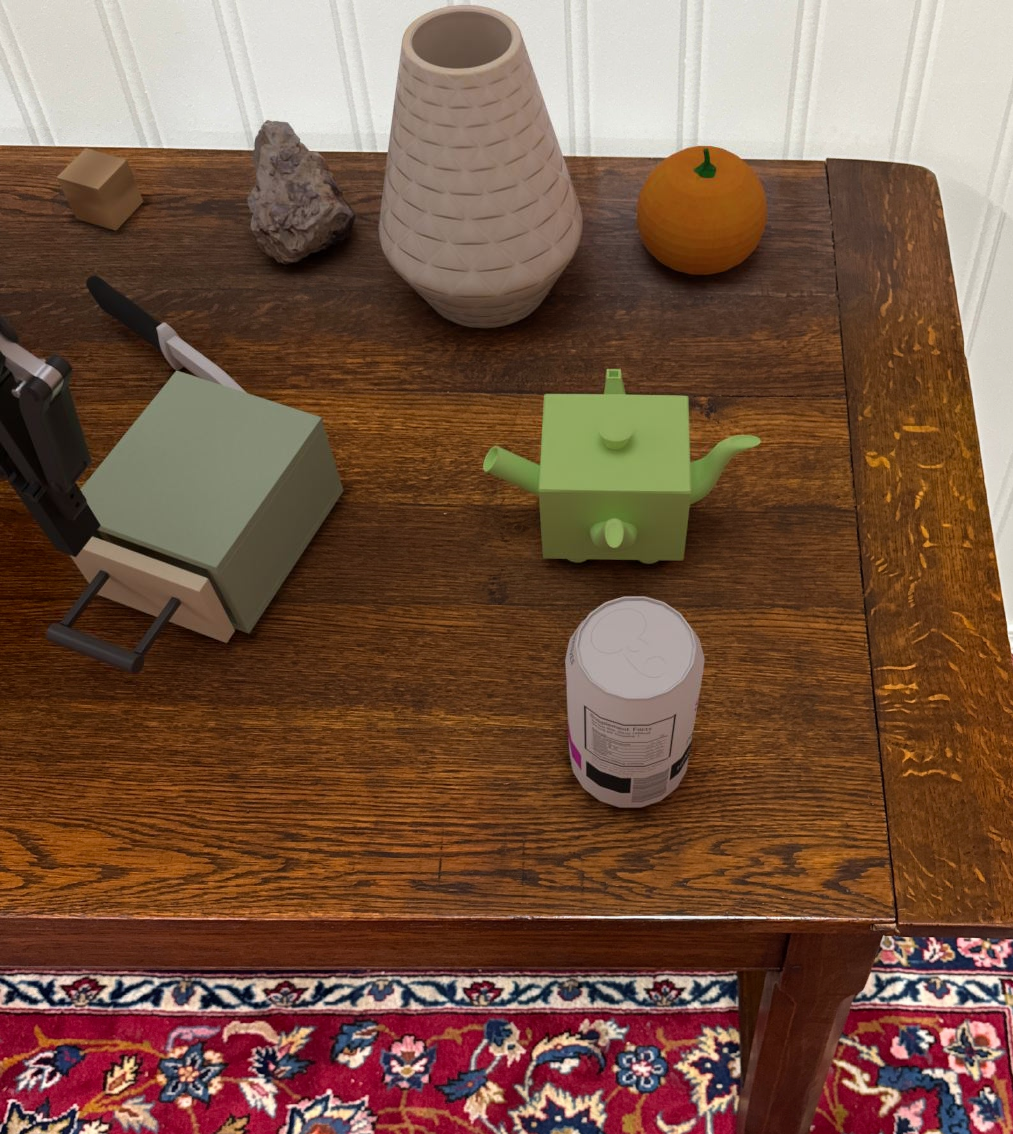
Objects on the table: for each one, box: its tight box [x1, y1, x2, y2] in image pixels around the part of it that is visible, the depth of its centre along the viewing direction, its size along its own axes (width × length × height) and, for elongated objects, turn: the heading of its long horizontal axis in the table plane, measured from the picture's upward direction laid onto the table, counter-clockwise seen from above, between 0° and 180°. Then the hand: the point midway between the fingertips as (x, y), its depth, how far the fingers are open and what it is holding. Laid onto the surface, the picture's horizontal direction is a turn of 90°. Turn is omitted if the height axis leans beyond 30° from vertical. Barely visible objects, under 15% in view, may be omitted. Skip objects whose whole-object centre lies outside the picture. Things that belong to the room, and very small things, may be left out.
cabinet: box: [80, 370, 344, 634], centre depth 85 cm, size 15×13×9 cm
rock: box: [246, 119, 357, 265], centre depth 103 cm, size 9×12×10 cm
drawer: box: [45, 530, 236, 675], centre depth 83 cm, size 20×11×7 cm, turn 157°
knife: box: [85, 275, 247, 393], centre depth 95 cm, size 25×2×5 cm, turn 50°
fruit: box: [636, 145, 768, 276], centre depth 101 cm, size 12×12×10 cm
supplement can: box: [564, 595, 706, 808], centre depth 72 cm, size 8×8×15 cm
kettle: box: [482, 368, 762, 565], centre depth 84 cm, size 15×14×11 cm
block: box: [56, 147, 144, 232], centre depth 107 cm, size 5×5×5 cm
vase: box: [377, 4, 584, 329], centre depth 93 cm, size 17×17×23 cm
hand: (78, 537), depth 72 cm, fingers closed
